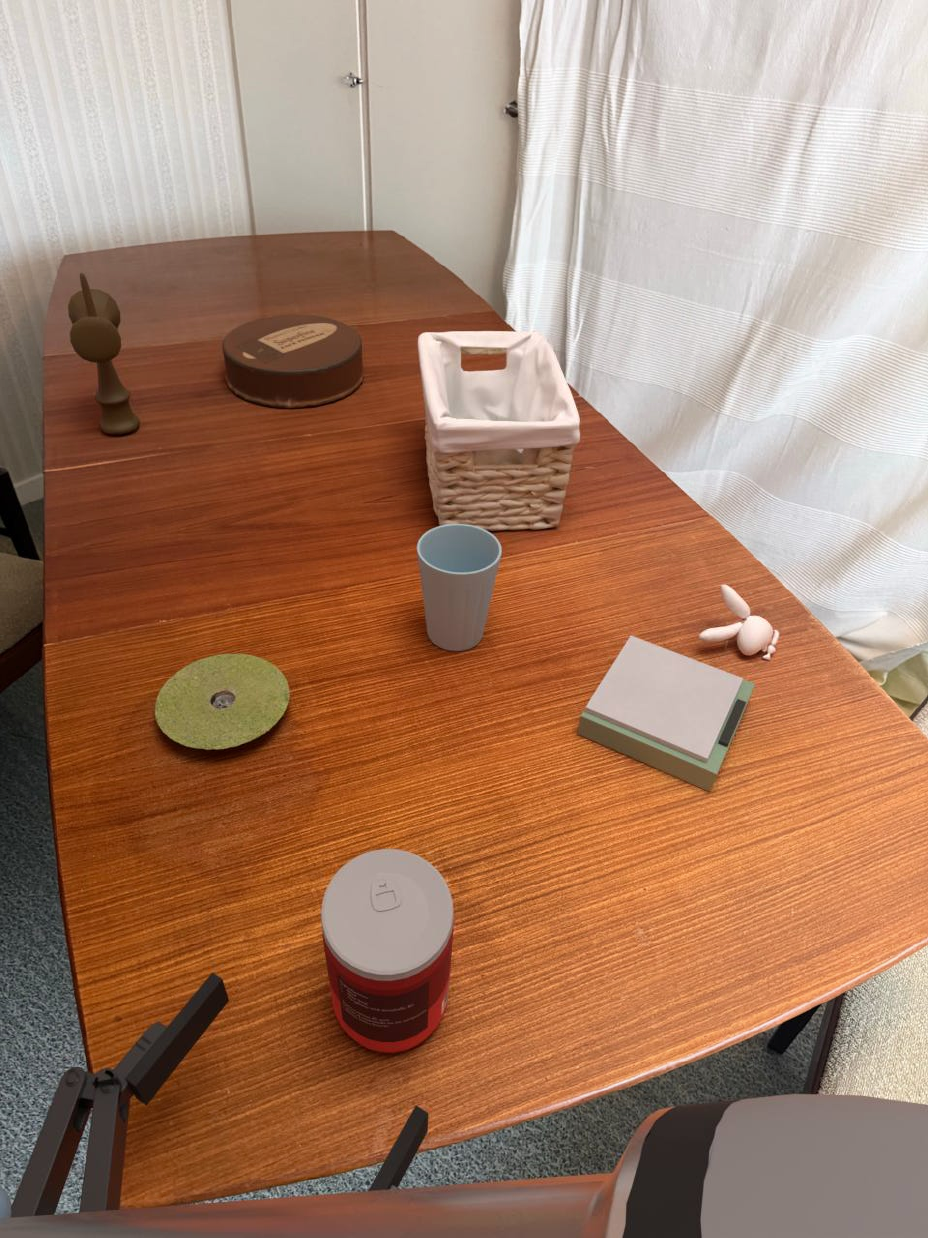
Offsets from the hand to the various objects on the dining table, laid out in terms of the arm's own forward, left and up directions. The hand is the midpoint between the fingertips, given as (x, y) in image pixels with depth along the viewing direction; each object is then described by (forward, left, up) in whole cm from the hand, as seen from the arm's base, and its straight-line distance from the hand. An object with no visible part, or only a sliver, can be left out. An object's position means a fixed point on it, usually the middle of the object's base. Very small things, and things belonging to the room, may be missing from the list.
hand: (316, 1048), depth 46 cm
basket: (+57, -42, -7) cm, 71 cm away
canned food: (+4, -6, -7) cm, 10 cm away
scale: (+16, -38, -7) cm, 42 cm away
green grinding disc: (+33, -3, -7) cm, 34 cm away
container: (+94, -30, -7) cm, 99 cm away
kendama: (+88, -4, -7) cm, 89 cm away
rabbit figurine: (+21, -50, -7) cm, 55 cm away
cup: (+34, -26, -7) cm, 43 cm away
